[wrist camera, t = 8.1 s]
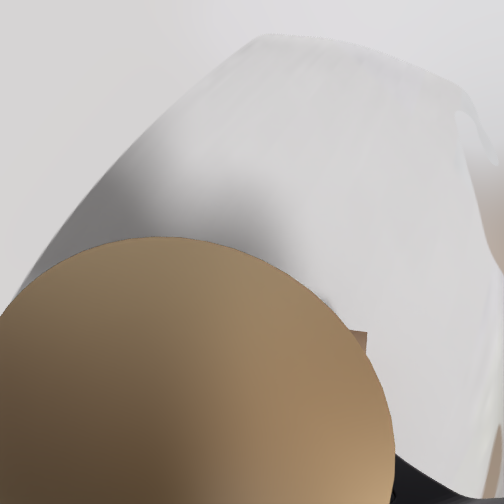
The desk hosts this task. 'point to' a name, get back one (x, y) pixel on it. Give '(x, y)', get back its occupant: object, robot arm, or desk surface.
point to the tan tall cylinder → (185, 385)
